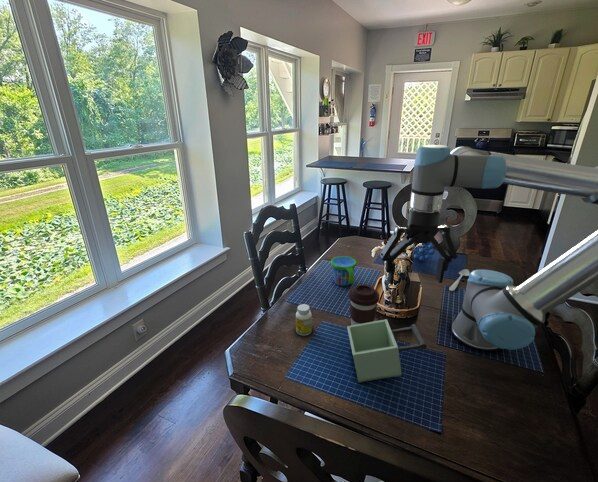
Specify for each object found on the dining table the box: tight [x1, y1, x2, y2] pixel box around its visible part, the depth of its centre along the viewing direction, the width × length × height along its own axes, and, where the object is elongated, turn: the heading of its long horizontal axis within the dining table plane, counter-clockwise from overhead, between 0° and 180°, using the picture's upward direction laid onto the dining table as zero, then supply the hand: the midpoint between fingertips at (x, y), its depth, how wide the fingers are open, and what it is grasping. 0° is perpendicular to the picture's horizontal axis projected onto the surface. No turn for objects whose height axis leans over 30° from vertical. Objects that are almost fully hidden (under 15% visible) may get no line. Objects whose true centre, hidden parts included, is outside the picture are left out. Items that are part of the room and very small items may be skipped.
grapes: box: [413, 242, 436, 262], centre depth 154 cm, size 12×7×12 cm, turn 46°
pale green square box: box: [346, 318, 428, 383], centre depth 92 cm, size 20×12×10 cm, turn 89°
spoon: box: [448, 268, 471, 292], centre depth 138 cm, size 4×21×2 cm, turn 138°
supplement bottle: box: [295, 303, 313, 337], centre depth 107 cm, size 5×5×10 cm
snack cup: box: [330, 255, 357, 287], centre depth 137 cm, size 16×10×10 cm
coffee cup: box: [348, 284, 380, 326], centre depth 108 cm, size 10×10×15 cm
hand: (414, 281), depth 90 cm, fingers open, 13 cm apart
